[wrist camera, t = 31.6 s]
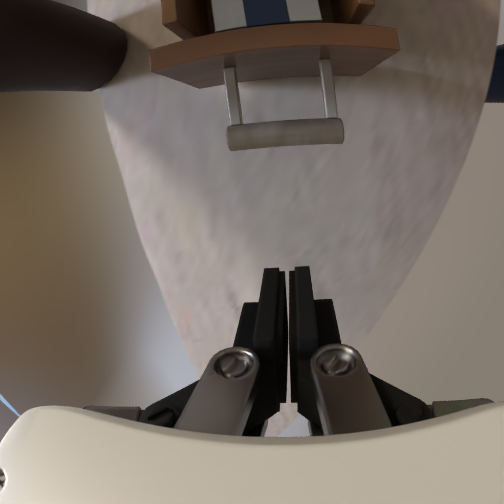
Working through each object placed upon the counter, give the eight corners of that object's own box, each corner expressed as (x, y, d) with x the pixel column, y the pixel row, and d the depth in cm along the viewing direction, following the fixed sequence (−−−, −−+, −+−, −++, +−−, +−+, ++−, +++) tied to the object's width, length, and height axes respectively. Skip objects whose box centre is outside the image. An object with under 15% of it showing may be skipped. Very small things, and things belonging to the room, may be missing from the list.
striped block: (307, -8, 13) (310, -32, 9) (317, 39, 14) (323, 21, 11) (220, 1, 14) (207, -20, 10) (227, 48, 15) (213, 32, 12)
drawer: (366, 139, 18) (410, 148, 11) (207, 150, 19) (162, 165, 12) (328, -59, 10) (339, -113, 3) (187, -44, 12) (149, -90, 5)
